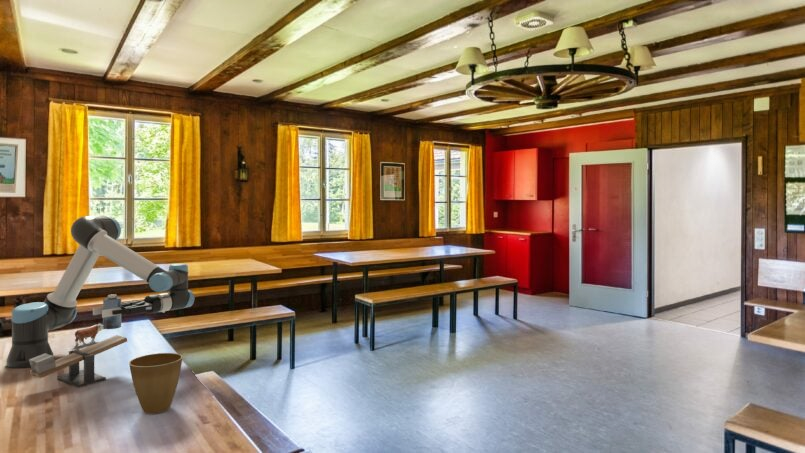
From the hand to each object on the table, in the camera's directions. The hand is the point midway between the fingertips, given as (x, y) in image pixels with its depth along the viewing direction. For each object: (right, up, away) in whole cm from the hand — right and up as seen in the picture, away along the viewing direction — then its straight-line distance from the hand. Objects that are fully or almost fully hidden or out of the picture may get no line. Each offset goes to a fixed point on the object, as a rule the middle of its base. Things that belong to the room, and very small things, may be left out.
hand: (97, 312), depth 183 cm
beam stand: (-4, -24, -4) cm, 24 cm away
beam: (-3, -16, -4) cm, 17 cm away
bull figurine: (-32, -22, +45) cm, 59 cm away
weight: (+3, -6, +5) cm, 8 cm away
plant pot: (+37, -25, -30) cm, 54 cm away
